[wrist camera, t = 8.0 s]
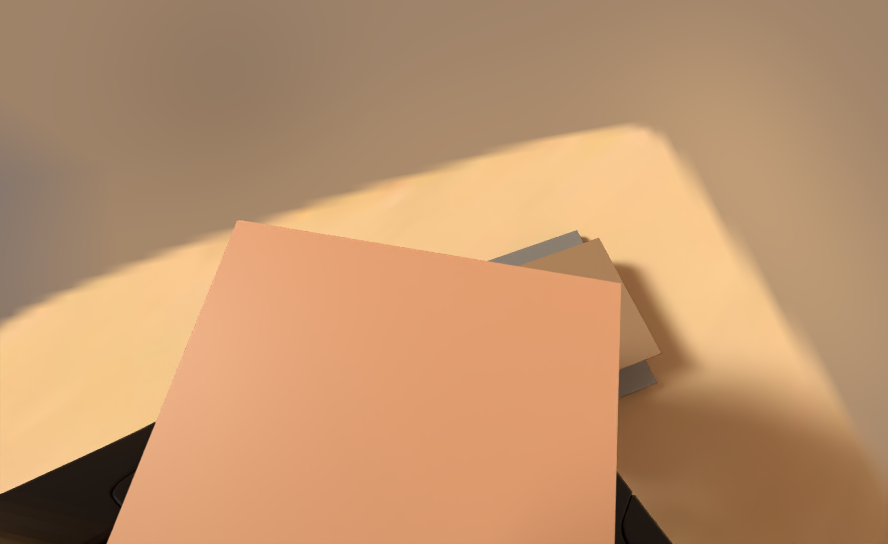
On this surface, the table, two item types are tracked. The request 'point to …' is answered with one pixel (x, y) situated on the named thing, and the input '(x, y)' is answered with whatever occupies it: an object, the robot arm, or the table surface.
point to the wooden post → (384, 403)
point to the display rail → (557, 245)
